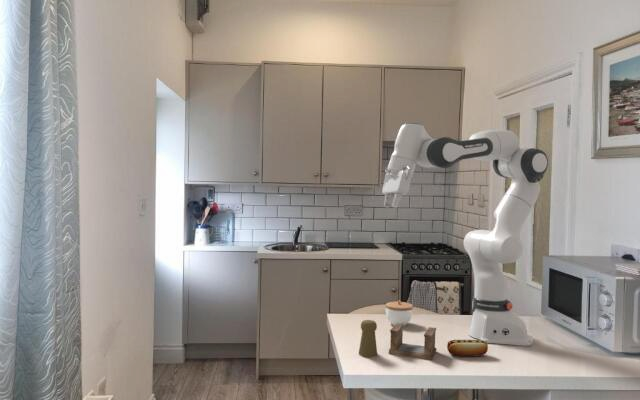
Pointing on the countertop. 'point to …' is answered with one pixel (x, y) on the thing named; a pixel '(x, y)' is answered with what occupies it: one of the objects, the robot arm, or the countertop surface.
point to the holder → (409, 349)
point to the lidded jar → (399, 312)
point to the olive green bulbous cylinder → (368, 339)
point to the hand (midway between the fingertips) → (390, 207)
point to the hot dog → (467, 347)
